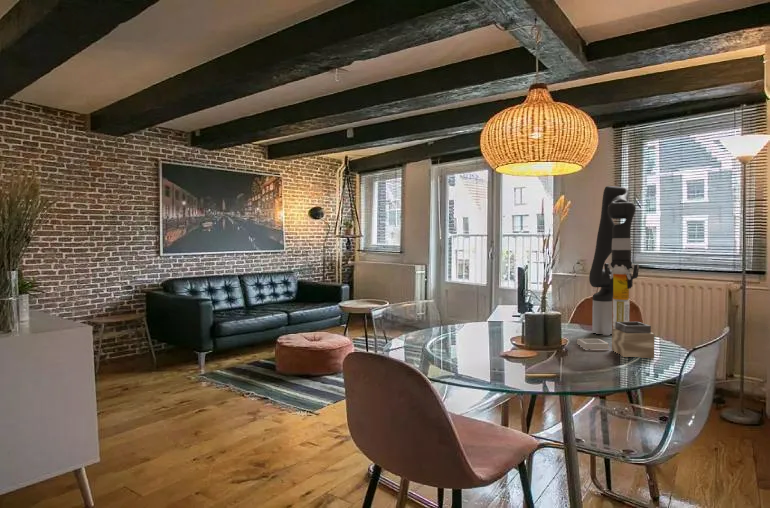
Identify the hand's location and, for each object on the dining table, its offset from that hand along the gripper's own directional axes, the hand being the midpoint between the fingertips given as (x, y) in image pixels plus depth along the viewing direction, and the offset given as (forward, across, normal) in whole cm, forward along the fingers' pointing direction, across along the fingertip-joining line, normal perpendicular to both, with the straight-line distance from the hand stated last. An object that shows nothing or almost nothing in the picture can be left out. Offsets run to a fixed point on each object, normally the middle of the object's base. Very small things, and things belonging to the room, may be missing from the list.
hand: (621, 287), depth 208 cm
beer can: (+6, 0, 0) cm, 6 cm away
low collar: (+28, -13, 0) cm, 31 cm away
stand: (+28, +4, 0) cm, 28 cm away
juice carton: (+28, -20, +52) cm, 63 cm away
